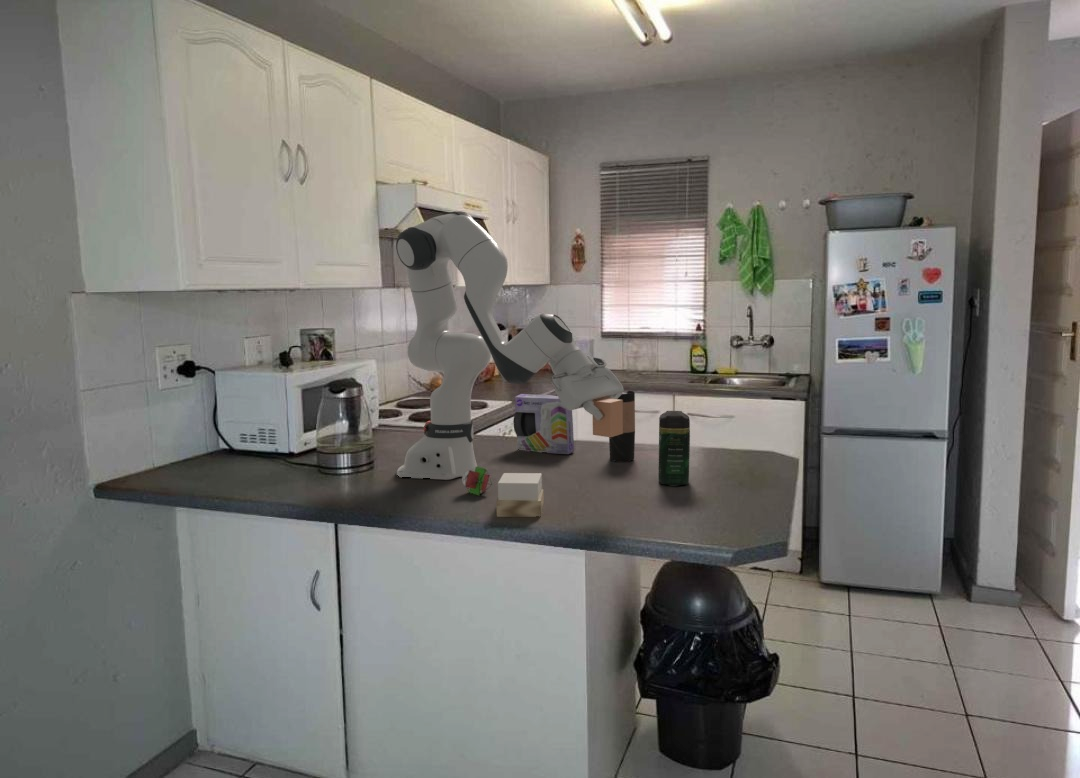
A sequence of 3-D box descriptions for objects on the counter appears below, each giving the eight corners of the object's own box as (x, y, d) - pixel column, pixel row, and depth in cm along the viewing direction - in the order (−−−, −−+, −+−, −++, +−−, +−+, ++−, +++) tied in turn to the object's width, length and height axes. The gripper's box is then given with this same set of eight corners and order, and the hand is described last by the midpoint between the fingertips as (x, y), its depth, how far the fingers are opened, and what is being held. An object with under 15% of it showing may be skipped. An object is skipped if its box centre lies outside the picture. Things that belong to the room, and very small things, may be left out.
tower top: (498, 500, 171) (498, 483, 171) (504, 489, 180) (503, 473, 180) (538, 500, 171) (537, 483, 170) (542, 489, 179) (541, 473, 179)
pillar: (592, 434, 177) (592, 400, 175) (605, 431, 180) (604, 398, 179) (610, 437, 173) (610, 402, 172) (622, 433, 177) (622, 399, 176)
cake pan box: (513, 450, 239) (511, 394, 236) (521, 447, 243) (520, 392, 240) (567, 456, 229) (567, 398, 227) (575, 452, 234) (574, 396, 231)
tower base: (496, 518, 171) (496, 501, 171) (501, 505, 181) (501, 489, 181) (541, 518, 171) (540, 501, 170) (543, 505, 181) (543, 489, 180)
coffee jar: (690, 487, 193) (691, 415, 190) (658, 486, 194) (659, 414, 191) (688, 477, 202) (689, 408, 199) (658, 477, 203) (658, 408, 201)
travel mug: (618, 463, 219) (618, 394, 216) (604, 458, 226) (603, 391, 223) (640, 460, 223) (640, 392, 220) (625, 455, 229) (625, 389, 226)
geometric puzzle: (485, 478, 196) (469, 457, 192) (502, 483, 191) (486, 461, 187) (468, 499, 193) (452, 478, 189) (485, 504, 188) (468, 483, 184)
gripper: (555, 367, 171) (591, 414, 166) (607, 358, 187) (641, 401, 182) (540, 385, 175) (575, 431, 170) (592, 375, 190) (625, 417, 185)
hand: (609, 416), depth 176 cm, fingers closed on pillar, 5 cm apart
